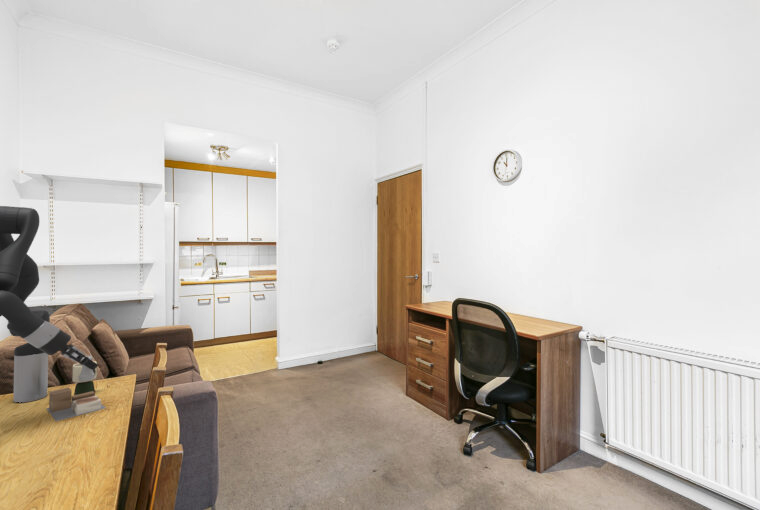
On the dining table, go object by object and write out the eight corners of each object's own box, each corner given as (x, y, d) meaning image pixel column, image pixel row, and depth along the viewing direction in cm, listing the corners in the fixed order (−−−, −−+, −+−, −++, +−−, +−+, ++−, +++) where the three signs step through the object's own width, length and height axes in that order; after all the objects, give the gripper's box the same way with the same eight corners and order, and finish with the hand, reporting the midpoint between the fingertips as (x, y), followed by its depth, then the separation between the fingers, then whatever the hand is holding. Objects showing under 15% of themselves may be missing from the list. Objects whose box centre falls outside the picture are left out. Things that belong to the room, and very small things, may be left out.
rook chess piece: (85, 382, 119) (85, 358, 119) (74, 381, 120) (75, 357, 120) (98, 377, 123) (98, 355, 123) (87, 377, 124) (88, 354, 124)
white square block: (72, 409, 121) (72, 400, 121) (95, 403, 126) (95, 394, 126) (76, 414, 117) (77, 405, 117) (100, 408, 122) (100, 399, 122)
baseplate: (46, 411, 122) (46, 408, 122) (93, 400, 132) (93, 396, 132) (55, 425, 112) (56, 421, 112) (106, 411, 122) (106, 407, 122)
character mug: (94, 400, 132) (95, 365, 132) (69, 404, 128) (70, 368, 128) (97, 391, 141) (98, 358, 141) (74, 394, 137) (75, 361, 138)
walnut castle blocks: (49, 408, 122) (49, 391, 122) (92, 397, 131) (92, 381, 131) (51, 412, 119) (52, 394, 119) (96, 401, 128) (96, 384, 128)
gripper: (63, 330, 111) (109, 361, 121) (54, 325, 120) (98, 354, 129) (39, 350, 107) (89, 380, 116) (32, 344, 116) (79, 372, 125)
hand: (94, 366), depth 123 cm, fingers closed on rook chess piece, 3 cm apart
